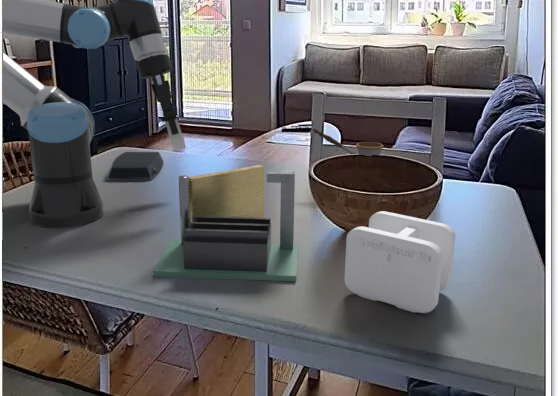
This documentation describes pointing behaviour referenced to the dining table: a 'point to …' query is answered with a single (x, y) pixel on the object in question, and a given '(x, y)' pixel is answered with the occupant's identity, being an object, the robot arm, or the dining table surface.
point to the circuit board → (278, 269)
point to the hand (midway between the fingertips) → (179, 149)
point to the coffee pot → (363, 147)
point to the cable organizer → (400, 261)
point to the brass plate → (228, 193)
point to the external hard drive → (136, 166)
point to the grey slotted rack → (235, 232)
